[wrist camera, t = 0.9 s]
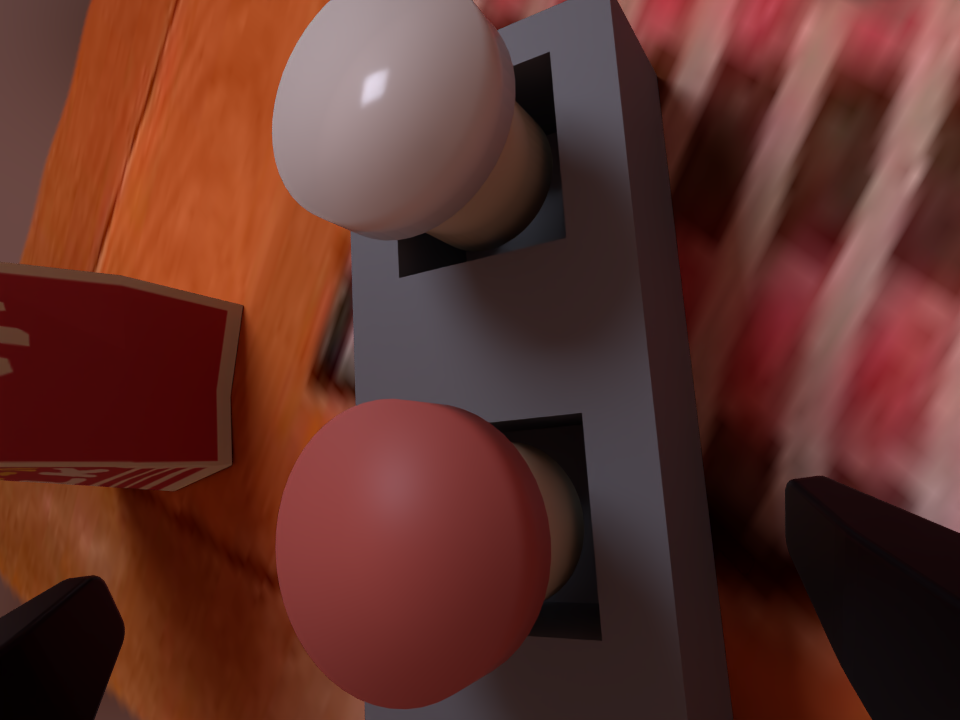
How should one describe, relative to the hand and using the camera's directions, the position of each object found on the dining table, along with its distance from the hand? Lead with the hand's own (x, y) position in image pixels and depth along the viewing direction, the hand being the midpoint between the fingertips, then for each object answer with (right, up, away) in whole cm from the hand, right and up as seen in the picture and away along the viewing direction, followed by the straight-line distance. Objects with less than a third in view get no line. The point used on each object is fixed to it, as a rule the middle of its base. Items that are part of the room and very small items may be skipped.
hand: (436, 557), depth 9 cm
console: (+3, -2, +13) cm, 14 cm away
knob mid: (+1, -2, +10) cm, 10 cm away
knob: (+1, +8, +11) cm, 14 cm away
